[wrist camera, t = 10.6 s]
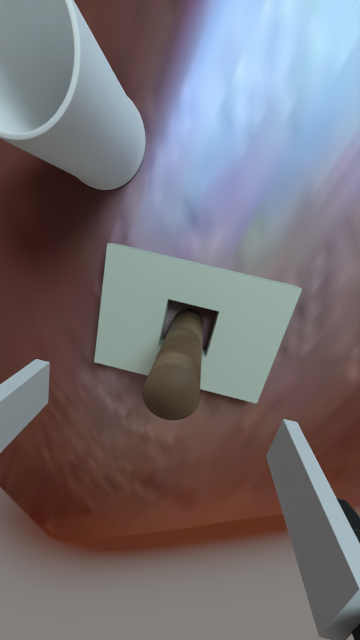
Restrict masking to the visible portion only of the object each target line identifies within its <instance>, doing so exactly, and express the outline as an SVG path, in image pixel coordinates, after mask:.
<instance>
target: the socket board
mask: <svg viewBox="0 0 360 640" xmlns="http://www.w3.org/2000/svg"><path fill="white" fill-rule="evenodd" d="M301 290H302V289H301V288H299V287H297V286H295V285H290V284H286V283H282V282H278V281H273V280H269V279H265V278H261V277H256V276H252V275H248V274H244V273H239V272H235V271H231V270H227V269H222V268H218V267H214V266H210V265H205V264H201V263H197V262H193V261H188V260H184V259H180V258H176V257H171V256H167V255H163V254H159V253H154V252H150V251H146V250H142V249H137V248H133V247H129V246H125V245H120V244H116V243H107V252H106V261H105V270H104V279H103V288H102V297H101V306H100V315H99V324H98V333H97V342H96V351H95V360H94V362H96V363H100V364H104V365H108V366H111V367H115V368H119V369H123V370H127V371H131V372H135V373H139V374H143V375H147V376H148V375H149V373H150V370H151V368H152V366H153V364H154V361H155V359H156V357H157V355H158V353H159V350H160V348H161V346H162V344H163V341H164V339H162V334H163V329H164V325H165V320H166V315H167V310H168V306H169V301H170V300H174V301H178V302H182V303H186V304H190V305H195V306H199V307H203V308H207V309H211V310H215V311H217V314H216V317H215V321H214V324H213V328H212V331H211V335H210V339H209V342H208V346H207V349H206V350H204V349H202V362H201V381H200V389H202V390H206V391H209V392H213V393H217V394H221V395H225V396H229V397H233V398H237V399H241V400H245V401H249V402H253V403H256V404H257V402H258V399H259V397H260V394H261V392H262V389H263V387H264V384H265V382H266V379H267V377H268V374H269V371H270V369H271V366H272V364H273V361H274V359H275V356H276V354H277V351H278V349H279V346H280V344H281V341H282V339H283V336H284V333H285V331H286V328H287V326H288V323H289V321H290V318H291V316H292V313H293V311H294V308H295V306H296V303H297V301H298V298H299V295H300V293H301Z"/></svg>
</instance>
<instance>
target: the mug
mask: <svg viewBox="0 0 360 640" xmlns="http://www.w3.org/2000/svg"><path fill="white" fill-rule="evenodd" d="M0 138H1V139H2V140H4V141H6V142H8V143H10V144H12V145H14V146H16V147H18V148H20V149H22V150H24V151H26V152H28V153H30V154H32V155H34V156H36V157H38V158H40V159H42V160H44V161H46V162H48V163H50V164H52V165H54V166H56V167H58V168H60V169H62V170H64V171H66V172H68V173H70V174H72V175H74V176H76V177H77V178H78V179H79V180H81V181H82V182H83V183H85V184H86V185H88V186H90V187H93V188H96V189H100V190H111V189H116V188H118V187H121V186H123V185H124V184H126V183H127V182H128V181H130V180H131V179H132V178H133V176H134V175H135V174H136V172H137V171H138V169H139V167H140V165H141V163H142V160H143V156H144V152H145V130H144V126H143V122H142V119H141V116H140V114H139V112H138V110H137V108H136V107H135V105H134V104H133V102H132V101H131V100H130V99H129V98H128V97H127V96H126V94H125V92H124V90H123V89H122V87H121V85H120V83H119V81H118V80H117V78H116V76H115V74H114V72H113V71H112V69H111V67H110V65H109V63H108V62H107V60H106V58H105V56H104V54H103V53H102V51H101V49H100V47H99V45H98V44H97V42H96V40H95V38H94V36H93V34H92V33H91V31H90V29H89V27H88V25H87V24H86V22H85V20H84V18H83V16H82V15H81V13H80V11H79V9H78V7H77V6H76V4H75V2H74V0H0Z"/></svg>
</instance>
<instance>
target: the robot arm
mask: <svg viewBox="0 0 360 640" xmlns="http://www.w3.org/2000/svg"><path fill="white" fill-rule="evenodd" d="M49 363H50V362H46V361H42V360H38V359H36V360H34V361H33V362H31V363H30V364H29V365H27V366H26V367H24V368H23V369H22V370H20V371H19V372H17V373H16V374H15V375H13V376H12V377H10V378H9V379H8V380H6V381H5V382H3V383H2V384H1V385H0V453H1V452H2V451H3V449H4V448H5V447H6V446H7V445H8V444H9V443H10V442H11V441H12V440H13V439H14V438H15V437H16V436H17V435H18V434H19V433H20V432H21V431H22V430H23V428H24V427H25V426H26V425H27V424H28V423H29V422H30V421H31V420H32V419H33V418H34V417H35V416H36V415H37V414H38V413H39V412H40V411H41V410H42V409H43V407H44V406H45V405H46V404H47V403H48V391H49ZM266 457H267V460H268V464H269V467H270V471H271V474H272V477H273V481H274V484H275V488H276V491H277V494H278V498H279V501H280V505H281V508H282V512H283V515H284V518H285V521H286V525H287V529H288V532H289V535H290V539H291V542H292V545H293V549H294V552H295V556H296V559H297V563H298V566H299V569H300V573H301V576H302V580H303V583H304V586H305V590H306V593H307V597H308V600H309V604H310V606H311V610H312V614H313V617H314V621H315V624H316V627H317V631H318V634H319V637H323V638H326V639H331V640H346V639H347V638H348V637H349V636H350V635H351V634H352V635H353V637H354V639H355V640H360V518H359V516H358V515H357V513H356V512H355V511H354V510H353V509H352V507H351V506H350V505H349V504H348V503H347V502H346V501H345V500H341V499H337V498H336V497H335V495H334V493H333V491H332V489H331V487H330V485H329V483H328V481H327V479H326V477H325V475H324V473H323V472H322V470H321V468H320V466H319V464H318V462H317V460H316V458H315V456H314V454H313V452H312V450H311V448H310V446H309V444H308V443H307V441H306V439H305V437H304V435H303V433H302V431H301V429H300V427H299V425H298V423H297V422H294V421H289V420H285V419H283V420H282V423H281V425H280V427H279V429H278V431H277V434H276V436H275V438H274V440H273V442H272V445H271V447H270V449H269V451H268V453H267V456H266Z"/></svg>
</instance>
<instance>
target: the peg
mask: <svg viewBox="0 0 360 640" xmlns="http://www.w3.org/2000/svg"><path fill="white" fill-rule="evenodd" d="M203 324H204V323H203V319H202V317H201V315H200V314H199V313H198V312H196V311H195V310H192V309H184V310H181V311H179V312H178V313H177V314H176V315H175V317H174V319H173V321H172V324H171V326H170V328H169V330H168V333H167V335H166V337H165V339H164V341H163V344H162V346H161V348H160V350H159V353H158V355H157V357H156V359H155V361H154V364H153V366H152V368H151V370H150V373H149V375H148V377H147V379H146V381H145V384H144V386H143V390H142V396H143V400H144V403H145V405H146V406H147V408H148V409H149V410H150V411H151V412H152V413H153V414H155V415H156V416H158V417H160V418H163V419H167V420H180V419H184V418H186V417H188V416H190V415H191V414H192V413H193V412H194V411H195V410H196V409H197V407H198V404H199V400H200V381H201V362H202V343H203Z"/></svg>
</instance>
